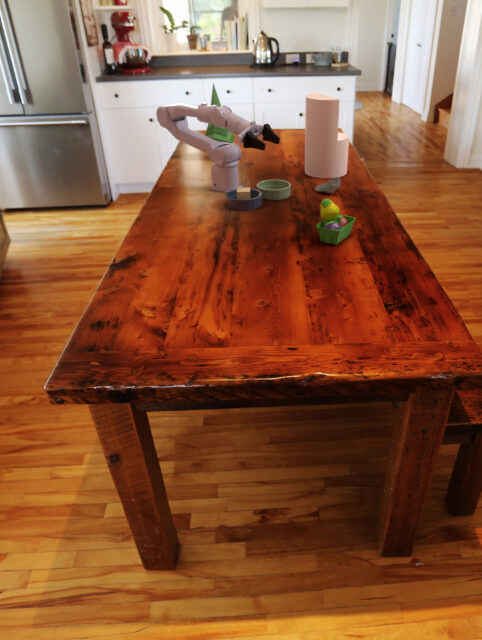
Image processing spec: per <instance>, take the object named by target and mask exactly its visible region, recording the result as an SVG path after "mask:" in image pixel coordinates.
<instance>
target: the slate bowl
mask: <svg viewBox="0 0 482 640" xmlns="http://www.w3.org/2000/svg"><path fill="white" fill-rule="evenodd" d="M250 198H251V199H244V200H240V199H237V189H235V190H231V191H229V192H226V193H225V205H226V207H227V208H228V209H230V210H233V211H234V210H235V211H251V210H256V209H258V208H260V207H262V205H263V199H262V193H261V192H260V191H259V190H257V189H255V188H250Z"/></svg>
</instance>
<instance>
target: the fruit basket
mask: <svg viewBox="0 0 482 640" xmlns="http://www.w3.org/2000/svg"><path fill="white" fill-rule="evenodd" d="M340 212H341V211H340V207H339V206H338V205H337V204H336V203H335V202H333V201H332V200H331V199H329V198H323V199H322V200H321V203H320V217H321V219H322V220H321V221H320V222H319V223H317V224H316V229H317V233H318V235H319V239H320V242H322V243H326V244H330V245H334V246H337V245H338V244H339V243H341V242H342V241H343V240H345V239H346V238H347V237H348V236H350V235H351V233H352V229H353V226H354V224H355V221H356V217H353V216H349V215H344V214H340Z"/></svg>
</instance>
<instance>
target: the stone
mask: <svg viewBox="0 0 482 640" xmlns="http://www.w3.org/2000/svg"><path fill="white" fill-rule="evenodd" d="M340 187H341V177H336V178H330V180H327V181H326V182H323V183H320V184H318V185H317V186H315V187H314V191H315V192H318V193H322V194H329V195H333V194H334V193H335V192H336V191H338V190H339V188H340Z"/></svg>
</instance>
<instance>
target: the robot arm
mask: <svg viewBox="0 0 482 640" xmlns="http://www.w3.org/2000/svg"><path fill="white" fill-rule="evenodd" d="M155 115H156V118H157V121H158V124H159V126H160V127H162V128H164V129H166V130H167V131H168V132H169V133H170V134H171V135H172V136H173V137H174V139H176V140H178V141H180V142H182V143H184V144H185V145H188V146H189V147H192V148H194V149H196V150H198V151H200V152H203V153H204V154H207V155H208V159H209V160H211V161H212V162H213V165H212V167H211V169H210V171H211V173H210V174H211V185H212V186H211V187H212V188H211V190H213V191H218V192H226V193H227V192H229V191H231V190H235V189H237V188H245V187H244V185H240V181H239V179H240V178H239V167H238V165H239V161H240V159H241V158H242V150H241V147H240V146H239V145H238V143H239V144H242V146H243V148H244V149H255V150H259V151H266V147H267V143H265V142H268V143H269V142H270V143H273V144H275V145H280V141H281V137H280V136H279V135H278V134H277V133H276V132H275V131H274V130H273V129H272V127H271V125H270V124H269V123H264V124H257V123H256V120H252V121H249V120H247V119H246V118H243V117H241V116H239V114H236V113H235V112H233V111H232V109H231V108H230V107H229V106H227V105H221V107H217V105H213V106H211V104H209V105H208V103H207V102H201V104H198V106H194V105H190V104H187V103H184V102H181V103H180V102H177V103H174V104H170V105H164V106H158V107H157V108H156V112H155ZM187 117H190V118H196V119H197V121H199V123H205V124H208V123H210V124H214V127H220V126H221V127H223V128H225V129H227V130H229V131H230V132H232V134H233V135H236V142H237V143H235V142H233V143H227V142H218V141H216V140H213V139H211V138H209V137H207V136H205V134H202V133H200V132H198V131H196V130H194V129H191V128H189V122H188V118H187ZM260 136H262V139H261V138H259V137H260Z"/></svg>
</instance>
